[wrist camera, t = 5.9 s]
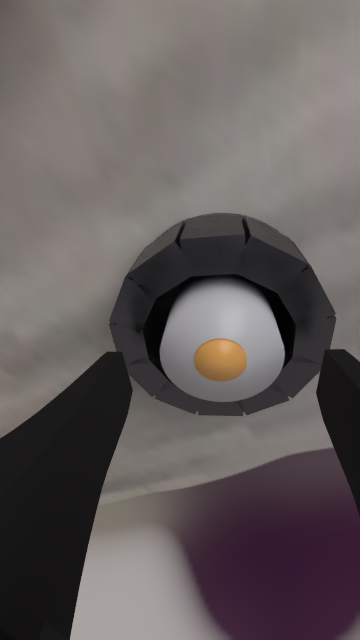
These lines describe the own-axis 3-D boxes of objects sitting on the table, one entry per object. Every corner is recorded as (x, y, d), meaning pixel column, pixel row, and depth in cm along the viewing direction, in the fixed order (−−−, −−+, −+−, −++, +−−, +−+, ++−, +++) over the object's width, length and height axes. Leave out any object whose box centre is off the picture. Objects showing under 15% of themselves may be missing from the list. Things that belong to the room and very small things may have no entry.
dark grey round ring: (321, 204, 12) (355, 226, 9) (297, 367, 17) (315, 417, 14) (116, 221, 13) (87, 246, 10) (148, 367, 18) (134, 413, 15)
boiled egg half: (272, 260, 13) (292, 306, 9) (265, 345, 15) (279, 406, 12) (167, 266, 14) (150, 310, 10) (177, 346, 16) (166, 404, 13)
